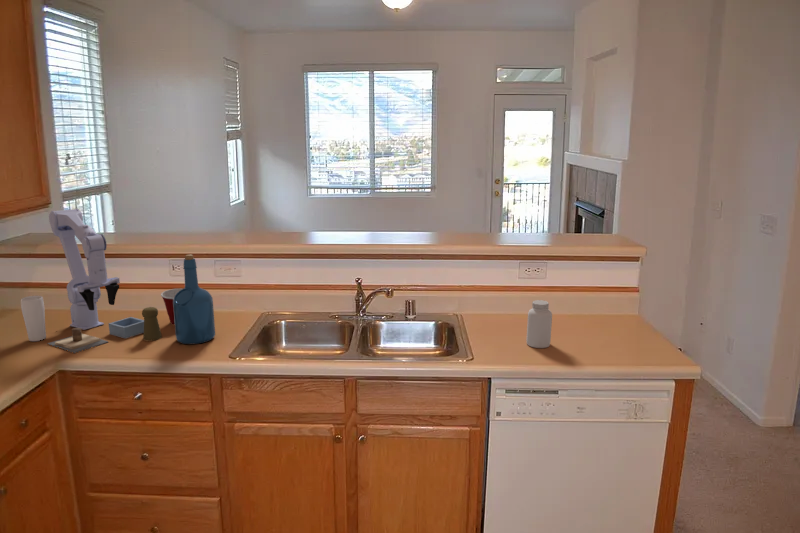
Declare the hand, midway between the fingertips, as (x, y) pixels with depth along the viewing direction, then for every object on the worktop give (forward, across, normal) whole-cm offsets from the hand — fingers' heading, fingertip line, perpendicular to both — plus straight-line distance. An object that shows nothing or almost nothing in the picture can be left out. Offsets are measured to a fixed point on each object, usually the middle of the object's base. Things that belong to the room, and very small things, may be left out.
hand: (101, 307), depth 214 cm
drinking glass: (+11, -15, +16) cm, 24 cm away
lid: (+10, -10, 0) cm, 14 cm away
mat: (+10, -10, 0) cm, 14 cm away
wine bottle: (+11, +14, -31) cm, 36 cm away
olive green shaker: (+11, +7, -17) cm, 21 cm away
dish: (+10, +6, -5) cm, 13 cm away
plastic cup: (+11, +23, -11) cm, 28 cm away
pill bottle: (+11, +71, -135) cm, 153 cm away
